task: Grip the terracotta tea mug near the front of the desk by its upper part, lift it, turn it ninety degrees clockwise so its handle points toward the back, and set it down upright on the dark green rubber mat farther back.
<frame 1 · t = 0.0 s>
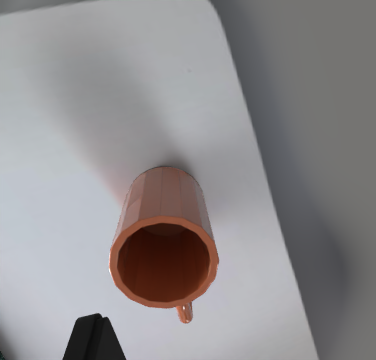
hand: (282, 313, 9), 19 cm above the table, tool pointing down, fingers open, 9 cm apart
tea mug: (165, 203, 29), on the table
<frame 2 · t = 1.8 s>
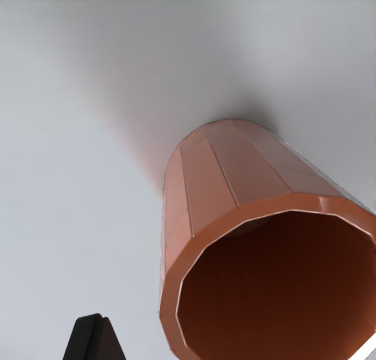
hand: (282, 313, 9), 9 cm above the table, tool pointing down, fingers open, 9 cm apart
tea mug: (228, 182, 17), on the table
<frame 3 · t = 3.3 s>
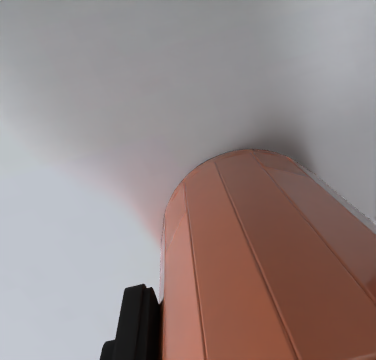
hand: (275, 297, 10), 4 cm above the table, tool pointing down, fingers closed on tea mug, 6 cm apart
tea mug: (245, 228, 14), on the table, touching gripper
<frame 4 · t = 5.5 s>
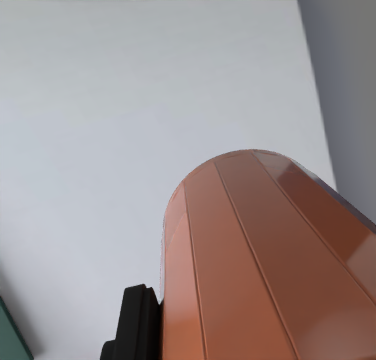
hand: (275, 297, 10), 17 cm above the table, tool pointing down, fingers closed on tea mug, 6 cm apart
tea mug: (245, 228, 14), point 13 cm above the table, touching gripper
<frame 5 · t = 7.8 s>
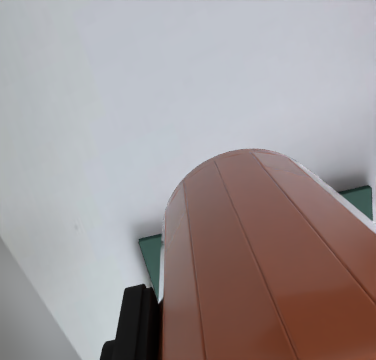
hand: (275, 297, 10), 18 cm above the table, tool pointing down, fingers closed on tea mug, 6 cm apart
tea mug: (245, 227, 14), point 14 cm above the table, touching gripper
mat: (264, 278, 31), on the table
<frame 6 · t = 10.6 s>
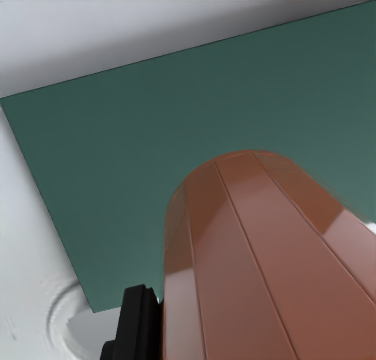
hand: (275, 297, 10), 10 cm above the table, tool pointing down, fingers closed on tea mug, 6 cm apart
tea mug: (245, 228, 14), point 6 cm above the table, touching gripper
mat: (221, 174, 19), on the table
when the fingers open (5 cm above the table, at t = 12.5 s): tea mug stays where it is, resting on mat.
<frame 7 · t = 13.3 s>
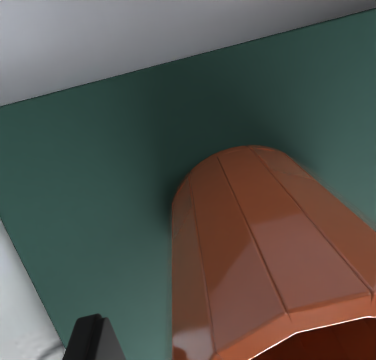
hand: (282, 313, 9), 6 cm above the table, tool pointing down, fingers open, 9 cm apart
tea mug: (245, 218, 15), point 1 cm above the table, touching mat
mat: (243, 214, 15), on the table
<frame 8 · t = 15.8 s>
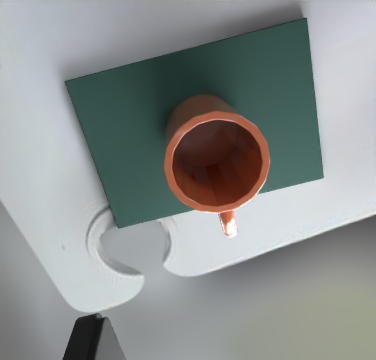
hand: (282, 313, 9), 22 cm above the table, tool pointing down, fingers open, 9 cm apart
tea mug: (203, 133, 30), resting on mat
mat: (203, 132, 30), on the table
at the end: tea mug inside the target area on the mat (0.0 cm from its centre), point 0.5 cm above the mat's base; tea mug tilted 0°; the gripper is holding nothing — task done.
